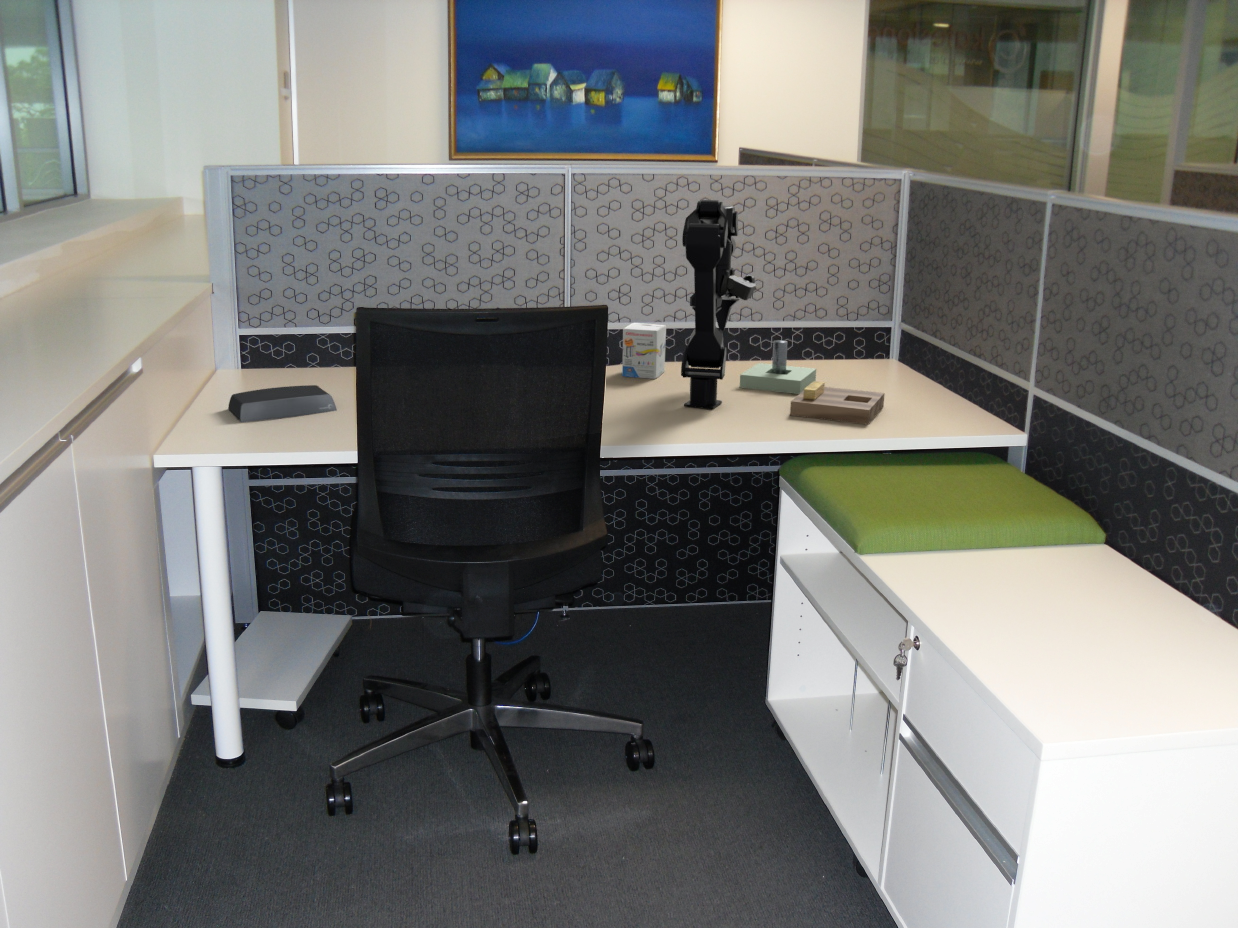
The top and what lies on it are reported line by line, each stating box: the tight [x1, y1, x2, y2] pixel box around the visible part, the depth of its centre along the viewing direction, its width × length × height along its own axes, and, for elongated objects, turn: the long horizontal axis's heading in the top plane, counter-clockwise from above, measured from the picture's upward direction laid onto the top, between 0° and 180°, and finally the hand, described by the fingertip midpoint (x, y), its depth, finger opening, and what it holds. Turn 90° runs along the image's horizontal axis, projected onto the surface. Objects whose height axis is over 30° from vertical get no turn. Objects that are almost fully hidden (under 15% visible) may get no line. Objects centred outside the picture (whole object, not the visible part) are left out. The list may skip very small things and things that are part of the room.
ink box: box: [621, 322, 667, 380], centre depth 252 cm, size 9×8×12 cm
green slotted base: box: [739, 362, 817, 395], centre depth 244 cm, size 14×14×3 cm
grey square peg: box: [771, 339, 789, 375], centre depth 243 cm, size 3×3×10 cm
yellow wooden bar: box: [803, 380, 826, 400], centre depth 222 cm, size 8×2×2 cm, turn 156°
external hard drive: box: [228, 384, 338, 423], centre depth 218 cm, size 13×19×4 cm
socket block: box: [789, 386, 886, 425], centre depth 221 cm, size 16×16×3 cm
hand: (715, 333), depth 239 cm, fingers open, 9 cm apart
